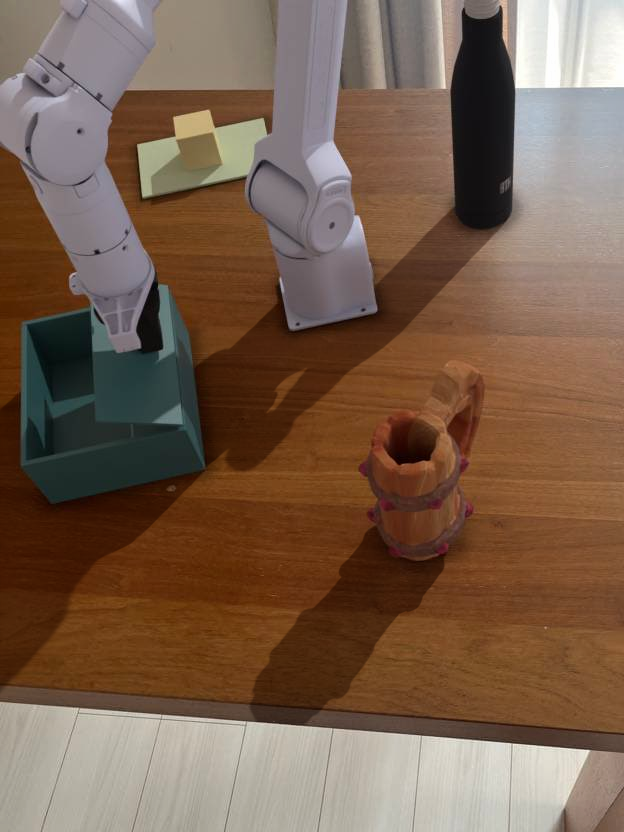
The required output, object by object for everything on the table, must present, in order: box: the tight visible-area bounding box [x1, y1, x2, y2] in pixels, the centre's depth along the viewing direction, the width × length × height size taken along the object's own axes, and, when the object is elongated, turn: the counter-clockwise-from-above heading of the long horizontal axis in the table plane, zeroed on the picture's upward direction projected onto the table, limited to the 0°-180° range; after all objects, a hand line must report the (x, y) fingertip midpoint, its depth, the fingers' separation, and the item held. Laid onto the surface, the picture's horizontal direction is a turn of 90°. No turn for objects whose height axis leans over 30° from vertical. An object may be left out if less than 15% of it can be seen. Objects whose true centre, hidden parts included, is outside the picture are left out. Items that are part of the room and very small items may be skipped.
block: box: [172, 109, 223, 172], centre depth 106 cm, size 4×4×4 cm
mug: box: [357, 359, 486, 562], centre depth 74 cm, size 15×8×15 cm, turn 148°
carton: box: [20, 289, 206, 505], centre depth 86 cm, size 15×18×6 cm
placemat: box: [137, 117, 268, 200], centre depth 108 cm, size 16×10×1 cm, turn 102°
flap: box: [89, 283, 183, 426], centre depth 82 cm, size 7×18×1 cm, turn 12°
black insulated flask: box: [449, 0, 516, 230], centre depth 86 cm, size 6×6×30 cm
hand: (152, 346), depth 82 cm, fingers closed
